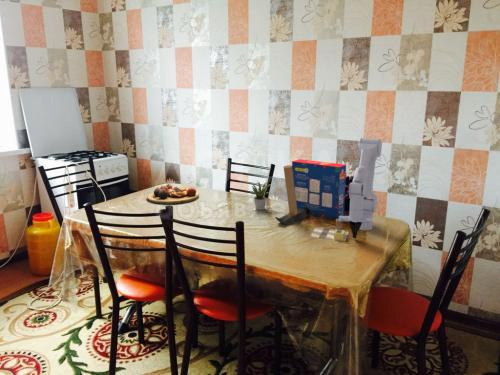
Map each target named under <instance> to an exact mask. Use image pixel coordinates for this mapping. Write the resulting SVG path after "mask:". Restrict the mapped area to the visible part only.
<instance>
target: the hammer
mask: <svg viewBox="0 0 500 375" xmlns="http://www.w3.org/2000/svg"><path fill="white" fill-rule="evenodd" d="M283 172H284V174H283V175H284V179H285V180H284V182H285V189H286V195H287V203H288V204H287V206H288V211H289V212H288V213H287V214H285V215H283V216H281V217H276V216H275V217H274V218H275V219H276V221H278V222H279V223H281V224H284V225H291V224H294V223H297V222H300V221H302V220H304V219H306V218H307V216H308V215H311V214H310V210H309V208H308V207H304V208H303V209H300V208H298V209H297V204H296V196H295V187H294V179H293V171H292V164H291V165H290V164H289V165H288V164H287V165H284V166H283Z"/></svg>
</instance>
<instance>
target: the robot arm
mask: <svg viewBox="0 0 500 375" xmlns="http://www.w3.org/2000/svg"><path fill="white" fill-rule="evenodd" d="M382 147H383V141H382V139H381V138H364V137H360V138H359V140H358V146H357V148H358V151H359V152H358V153H359V154H360V157H359V158H360V159H359V163H358V165H359V166H358V167H356V168H355V171H354V175H353V179H352V182H350V183H349V186H348V195H349V196H348V198H349V199H350V200H349V212H348V213H349V215H344V216H339V221H342V222H348V226H349V228H350V230H351V234H352V239H357V237H358V233H359V230H361V231H371V230H373V225H374V224H373V223H374V213H376V211H377V209H378V205H379V204H378V203H379V202H378V198H379V197H378V196H377V195H376V194H375V193H374V192H373V188H374V177H375V169H376V168H375V167H376V162H377V159H378V158H380V157H381V155H382Z"/></svg>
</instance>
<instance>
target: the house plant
mask: <svg viewBox="0 0 500 375" xmlns="http://www.w3.org/2000/svg"><path fill="white" fill-rule="evenodd" d="M268 182H269V180H268V181H265V182H264V184H263V185H261V183H260V181H256V183H257V185H258V187H257V186H256V185H255V184H253V183H251V182H250V184H251V188H252V193H253V194H251V196H254V197H253V202H254V205H255V209H256V210H257V211H264V210H265V208H266V202H267V197H265V196H270V195H271V192H269V191H267V190H268V187H269V186H272V185H273V183H271V184H268ZM266 191H267V192H266Z"/></svg>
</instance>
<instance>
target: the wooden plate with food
mask: <svg viewBox="0 0 500 375" xmlns="http://www.w3.org/2000/svg"><path fill="white" fill-rule="evenodd" d="M146 197H147V199H148V200H149V201H148V200H147V199H146V200H147V201H148V202H150V201H151V202H150V203H152V202H155V203H154V204H157V203H160V204H161V205H174V204H176V205H177V203H178V204H185V203H188V202H189V203H190V202H193V201H195V200H197V199H198V198H199V197H200V193H199V192H198V191H197V190H196V188H194V187H190V188H188V187H186V188H180V187H178V186H174V187H173V186H172V185H171V184H170V183H169V184H166V185H161V186H160V187H158V186H157V187H156V188H155V189H154V191H153V192H151V193H149V194H148V195H147V196H146ZM160 204H159V205H160Z"/></svg>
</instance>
